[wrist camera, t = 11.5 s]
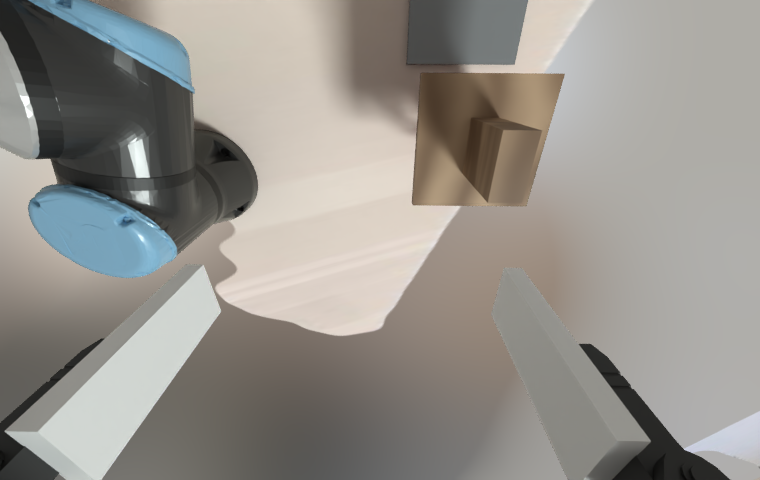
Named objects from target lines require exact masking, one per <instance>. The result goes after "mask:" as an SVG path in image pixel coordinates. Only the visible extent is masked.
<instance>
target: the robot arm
mask: <svg viewBox="0 0 760 480" xmlns="http://www.w3.org/2000/svg"><path fill="white" fill-rule="evenodd" d="M193 93H194V94H195V90H194V88H193V87H192V82H191V71H190V61H189V56H188V53H187V51H186V49H185V47H184V46H183V45H182V44H181V42H180V41H179V40H178V39H176V38H175V37H174V36H172V35H170V34H168V33H166V32H164V31H162V30H160V29H157V28H155V27H152V26H150V25H148V24H145V23H143V22H140V21H138V20H136V19H133V18H131V17H128V16H126V15H123V14H121V13H119V12H116V11H114V10H111V9H109V8H106V7H104V6H101V5H99V4H96V3H94V2H91V1H89V0H0V147H1V148H3V149H5V150H7V151H9V152H11V153H13V154H16V155H17V156H20V157H22V158H24V159H51V162H52V165H53V168H54V172H55V175H56V179H57V184H56V185H50V186H46V187H44V188H42V189H41V190H40V192H38V193H37V194H36V195H35V197H34V198H32V199H31V200H30V202H29V205H28V210H29V216H30V219H31V222H32V224H33V226H34V227H35V229H36V230H37V231H38V233H39V234H40V235H41V237H42V238H44V240H45V241H46V242H47V243H48V244H49V245H51V246H52V247H53V248H54V249H55V250H57V251H58V252H59V253H61V254H62V255H63V256H65V257H67V258H69V259H71V260H72V261H73V262H75V263H77V264H79V265H81V266H83V267H85V268H87V269H90V270H92V271H95V272H98V273H101V274H105V275H109V276H114V277H121V278H134V277H141V276H145V275H148V274H150V273H152V272H154V271H156V270H157V269H158V268H160V267H161V266H163V265H164V264H165V263H168V262H170V261H172V260H173V259H175V257H176V256H177V255H178V254H179V253H180V252H181V251H182V250H184V249H185V248H186V247H187V246H188V245H189V244H190V243H192V242H193V241H194V240H195V239H196V238H197V237H199V236H200V235H201V234H202V233H203V232H204V231H205V230H207V229H208V228H209V227H210V226H211V225H213V224H215V223H220V222H224V221H228V220H232V219H234V218H236V217H238V216H240V215H242V214H243V213H244V212H245V211H246V210H247V209H248V208H249V207H250V206H251V205H252V204H253V202H254V201H255V198H256V195H257V191H258V181H257V176H256V172H255V170H254V167H253V165H252V163H251V161H250V160H249V158H248V157H247V156H246V154H245V153H244V152H243V151H242V150H241V149H240V148H239V147H238V146H237V145H236V144H235V143H233V142H232V141H231V140H229V139H227V138H226V137H224V136H222V135H220V134H217V133H214V132H211V131H206V130H194V111H193ZM220 312H221V310H220V307H219V304H218V302H217V299H216V297H215V294H214V291H213V289H212V286H211V283H210V281H209V278H208V276H207V273H206V270H205V268H204V265H185V266H184V267H183V268H182V269H181V270H179V271H178V272H177V273H176V274H175V275H174V276H173V277H172V278H171V279H170V280H169V281H168V282H166V283H165V284H164V285H163V286H162V287H161V288H160V289H159V290H158V291H157V292H155V293H154V294H153V295H152V296H151V297H150V298H149V299H148V300H147V301H146V302H145V303H143V304H142V305H141V306H140V307H139V308H138V309H137V310H136V311H135V312H134V313H133V314H131V316H129V317H128V318H127V319H126V320H125V321H124V322H123V323H122V324H121V325H119V326H118V327H117V328H116V329H115V330H114V331H113V332H112V333H111V334H110V335H109V336H108V337H106V338H105V339H100V340H98V341H97V342H95V343H93V344H92V345H90V346H89V347H87V348H85V349H84V350H82V351H81V352H80V353H79V354H77V356H75V357H74V358H73V359H72V360H71V361H70V362H69V363H67V364H66V365H65V367H64V369H60V370H59V371H58V372H57V373H56V374H55V375H54V376H53V377H51V378H50V381H49V382H46V383H45V384H44V385H42V386H41V387H40V388H39V389H38V390H37V391H36V392H35V393H34V394H32V395H31V396H30V397H29V398H28V399H27V400H26V401H24V402H23V403H22V404H21V405H20V406H19V407H18V408H16V409H15V410H14V411H13V412H12V413H11V414H10V415H9V416H7V417H6V418H5V419H4V420H3V421H2V422H1V423H0V480H54V479H55V477H56V476H57V475H58V474H60V475H61V476H63V477H64V478H65V479H66V480H101V479H102V478H103V476H104V475H105V474H106V472H107V471H108V469H109V468H110V466H111V465H112V464H113V462H114V461H115V459H116V458H117V457H118V455H119V454H120V453H121V451H122V450H123V448H124V447H125V445H126V444H127V443H128V441H129V440H130V438H131V437H132V436H133V434H134V433H135V431H136V430H137V429H138V427H139V426H140V424H141V423H142V422H143V420H144V419H145V417H146V416H147V414H148V413H149V412H150V410H151V409H152V408H153V406H154V405H155V403H156V402H157V401H158V399H159V397H160V396H161V395H162V394H163V392H164V391H165V389H166V388H167V386H168V385H169V384H170V382H171V381H172V379H173V378H174V377H175V375H176V374H177V372H178V371H179V370H180V368H181V367H182V365H183V364H184V363H185V361H186V360H187V358H188V357H189V356H190V354H191V353H192V351H193V350H194V349H195V347H196V346H197V344H198V343H199V342H200V340H201V339H202V337H203V336H204V335H205V333H206V332H207V330H208V329H209V328H210V326H211V325H212V323H213V322H214V321H215V319H216V318H217V316H218V315H219V314H220ZM491 315H492V317H493V320H494V322H495V324H496V326H497V328H498V330H499V332H500V335H501V337H502V339H503V341H504V343H505V345H506V348H507V350H508V352H509V354H510V356H511V358H512V361H513V363H514V365H515V367H516V369H517V371H518V373H519V375H520V378H521V380H522V382H523V384H524V386H525V389H526V391H527V393H528V395H529V397H530V399H531V401H532V403H533V406H534V408H535V410H536V412H537V414H538V417H539V419H540V421H541V423H542V425H543V427H544V430H545V432H546V434H547V436H548V438H549V440H550V443H551V445H552V447H553V449H554V451H555V453H556V455H557V458H558V460H559V462H560V464H561V466H562V468H563V471H564V473H565V475H566V477H567V479H568V480H730V479H729V478H727V477H726V476H725V475H724V474H723V473H722V472H721V471H720V470H718V468H717V467H715V466H714V465H712V464H711V463H709V462H707V461H706V460H705V459H703V458H702V457H699V456H697V455H695V454H693V453H690V452H688V451H685V450H684V449H683V448H682V447H681V446H680V445H679V444H678V443H677V442H676V440H675V439H674V438H673V437H672V436H671V434H670V433H669V432H668V431H667V429H666V428H665V427H664V426H663V424H662V423H661V422H660V421H659V420H658V418H657V417H656V416H655V415H654V413H653V412H652V411H651V410H650V409H649V407H648V406H647V405H646V404H645V402H644V401H643V400H642V399H641V398H640V396H639V395H638V394H637V393H636V391H635V390H634V389H632V388H631V385H630V384H629V383H628V382H627V380H626V379H625V378H624V377H623V376H621V375H620V372H619V371H618V369H617V368H616V367H615V366H614V364H613V363H612V362H611V361H610V360H609V358H608V357H607V356H605V355H604V354H603V353H601V352H600V351H599V350H598V349H597V348H595V347H594V346H593V345H591V344H578V343H577V341H576V340H575V339H574V337H573V336H572V335H571V333H570V332H569V331H568V329H567V328H566V327H565V326H564V324H563V323H562V321H561V320H560V319H559V317H558V316H557V314H556V313H555V312H554V310H553V309H552V308H551V307H550V305H549V304H548V302H547V301H546V300H545V299H544V297H543V296H542V294H541V293H540V292H539V290H538V289H537V288H536V286H535V285H534V284H533V282H532V281H531V280H530V279H529V277H528V276H527V274H526V273H525V272H524V270H523V269H522V268H504V270H503V274H502V278H501V281H500V285H499V288H498V292H497V296H496V299H495V302H494V306H493V310H492V313H491Z"/></svg>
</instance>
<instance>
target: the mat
mask: <svg viewBox="0 0 760 480" xmlns="http://www.w3.org/2000/svg"><path fill="white" fill-rule="evenodd" d="M527 2H528V0H410V7H409V29H408V51H407V64H498V65H513V64H515V60H516V55H517V50H518V45H519V41H520V36H521V31H522V26H523V22H524V17H525V12H526V7H527Z"/></svg>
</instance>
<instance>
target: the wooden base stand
mask: <svg viewBox="0 0 760 480" xmlns="http://www.w3.org/2000/svg"><path fill="white" fill-rule="evenodd" d="M563 78H564V74H518V73H421V75H420V90H419V105H418V119H417V134H416V149H415V164H414V178H413V193H412V204H413V205H445V206H527V202H528V199H529V195H530V192H531V188H532V185H533V181H534V178H535V175H536V171H537V168H538V164H539V161H540V157H541V154H542V151H543V147H544V144H545V140H546V137H547V133H548V130H549V126H550V123H551V120H552V116H553V113H554V109H555V106H556V103H557V99H558V96H559V92H560V89H561V85H562V81H563Z"/></svg>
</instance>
